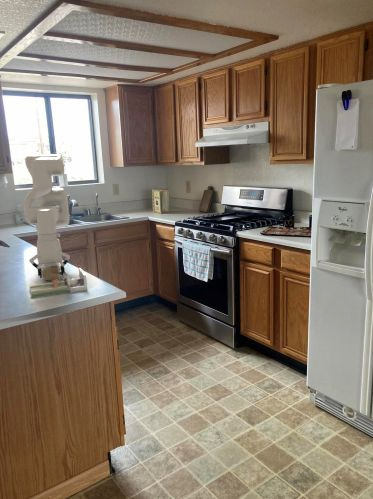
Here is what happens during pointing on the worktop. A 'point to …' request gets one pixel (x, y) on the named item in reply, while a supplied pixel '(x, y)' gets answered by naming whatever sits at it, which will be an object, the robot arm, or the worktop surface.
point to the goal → (81, 280)
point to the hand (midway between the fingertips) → (51, 275)
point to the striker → (54, 275)
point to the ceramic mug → (46, 271)
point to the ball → (73, 282)
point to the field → (48, 289)
